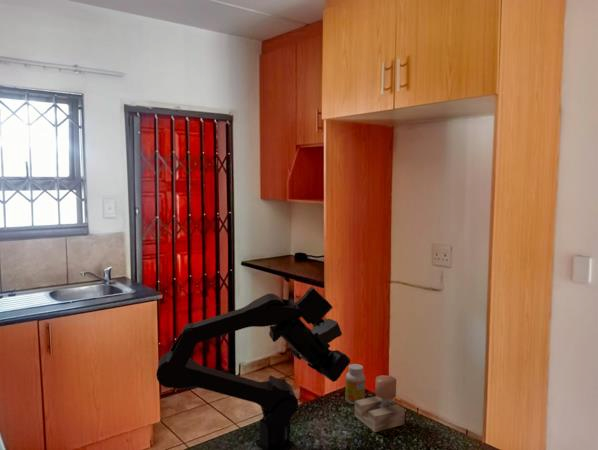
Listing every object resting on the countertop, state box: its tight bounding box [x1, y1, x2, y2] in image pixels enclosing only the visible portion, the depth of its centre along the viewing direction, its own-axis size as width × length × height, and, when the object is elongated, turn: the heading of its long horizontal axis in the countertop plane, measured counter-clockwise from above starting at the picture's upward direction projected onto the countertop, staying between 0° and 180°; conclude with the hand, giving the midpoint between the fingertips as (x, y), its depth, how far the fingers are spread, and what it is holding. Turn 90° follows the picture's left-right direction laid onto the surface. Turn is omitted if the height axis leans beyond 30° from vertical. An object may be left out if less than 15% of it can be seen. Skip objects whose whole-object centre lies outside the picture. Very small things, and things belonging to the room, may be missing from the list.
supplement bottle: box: [344, 363, 366, 405], centre depth 130 cm, size 5×5×10 cm
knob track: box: [354, 395, 406, 433], centre depth 119 cm, size 9×9×4 cm
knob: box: [374, 374, 397, 409], centre depth 120 cm, size 5×5×9 cm
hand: (339, 376), depth 113 cm, fingers closed
